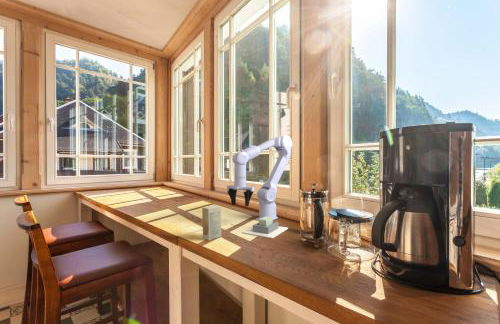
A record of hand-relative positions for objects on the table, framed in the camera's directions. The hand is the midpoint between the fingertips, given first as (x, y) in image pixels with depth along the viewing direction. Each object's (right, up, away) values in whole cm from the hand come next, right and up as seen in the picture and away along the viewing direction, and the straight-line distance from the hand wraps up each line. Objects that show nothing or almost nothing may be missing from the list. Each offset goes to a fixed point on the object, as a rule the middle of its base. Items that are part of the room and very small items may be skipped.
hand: (240, 205), depth 122 cm
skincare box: (-10, -9, -23) cm, 27 cm away
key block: (+11, -8, -14) cm, 20 cm away
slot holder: (+11, -9, -14) cm, 20 cm away
